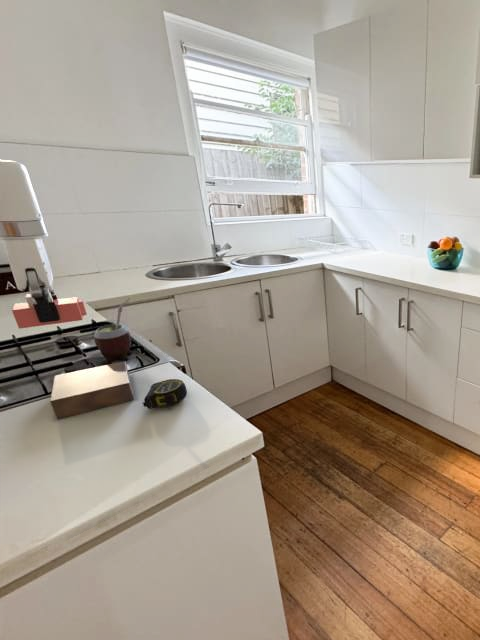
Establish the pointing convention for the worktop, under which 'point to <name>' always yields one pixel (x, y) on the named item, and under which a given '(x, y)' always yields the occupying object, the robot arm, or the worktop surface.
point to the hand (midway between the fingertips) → (50, 316)
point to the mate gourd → (114, 340)
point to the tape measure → (165, 394)
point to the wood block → (90, 389)
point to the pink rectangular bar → (66, 309)
